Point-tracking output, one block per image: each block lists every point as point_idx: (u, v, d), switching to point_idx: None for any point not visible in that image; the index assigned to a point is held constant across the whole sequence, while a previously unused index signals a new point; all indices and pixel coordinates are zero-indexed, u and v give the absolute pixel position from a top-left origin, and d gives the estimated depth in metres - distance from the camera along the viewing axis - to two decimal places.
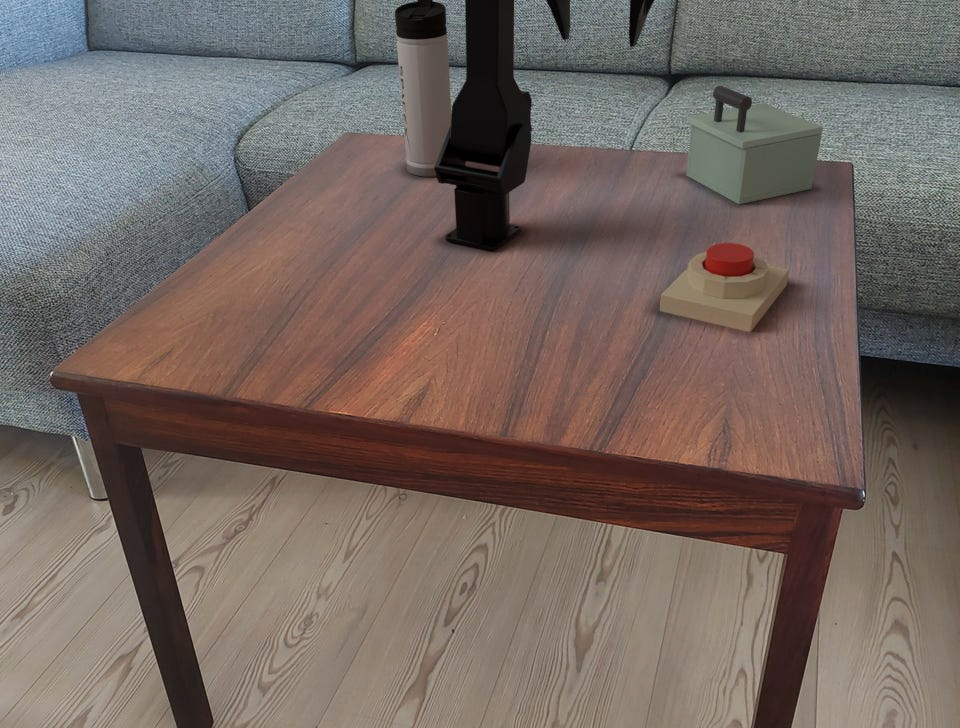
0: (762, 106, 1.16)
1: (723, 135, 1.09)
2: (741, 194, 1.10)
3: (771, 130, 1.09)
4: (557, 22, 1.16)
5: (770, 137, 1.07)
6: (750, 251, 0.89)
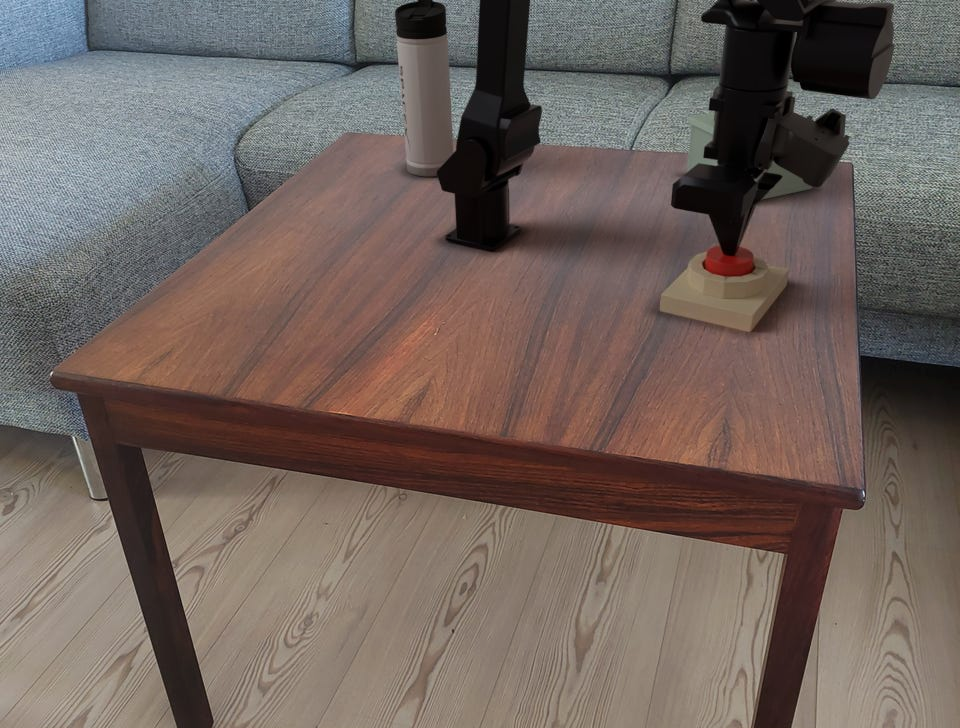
0: None
1: None
2: None
3: None
4: None
5: None
6: (750, 253, 0.89)
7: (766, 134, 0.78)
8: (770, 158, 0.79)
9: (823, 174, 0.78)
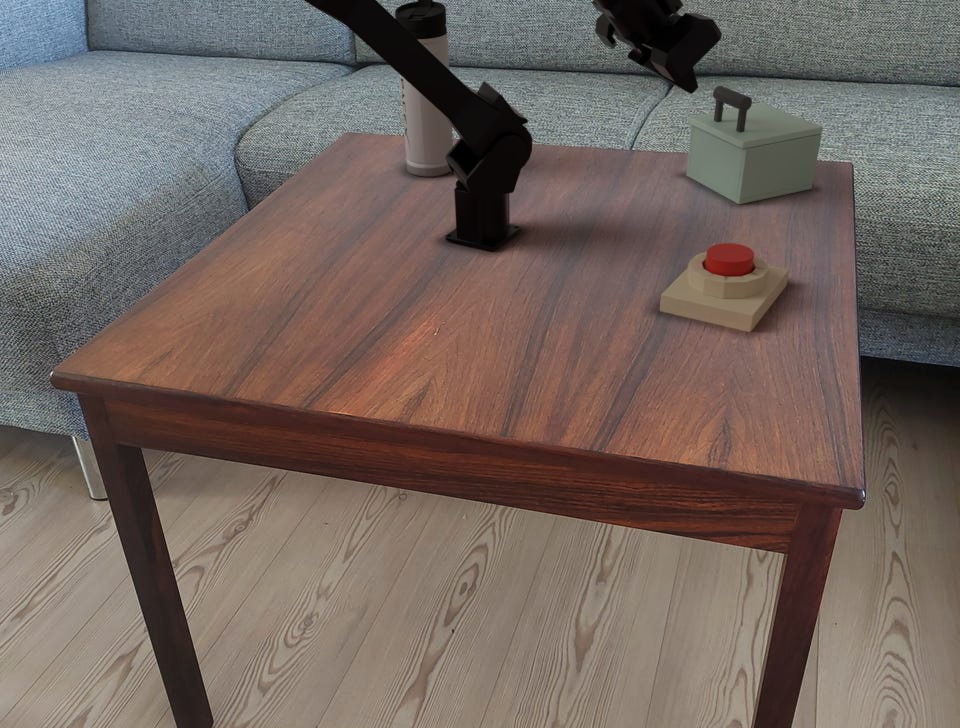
0: (762, 106, 1.16)
1: (723, 135, 1.09)
2: (741, 194, 1.10)
3: (771, 130, 1.09)
4: None
5: (770, 137, 1.07)
6: (750, 251, 0.89)
7: None
8: None
9: None
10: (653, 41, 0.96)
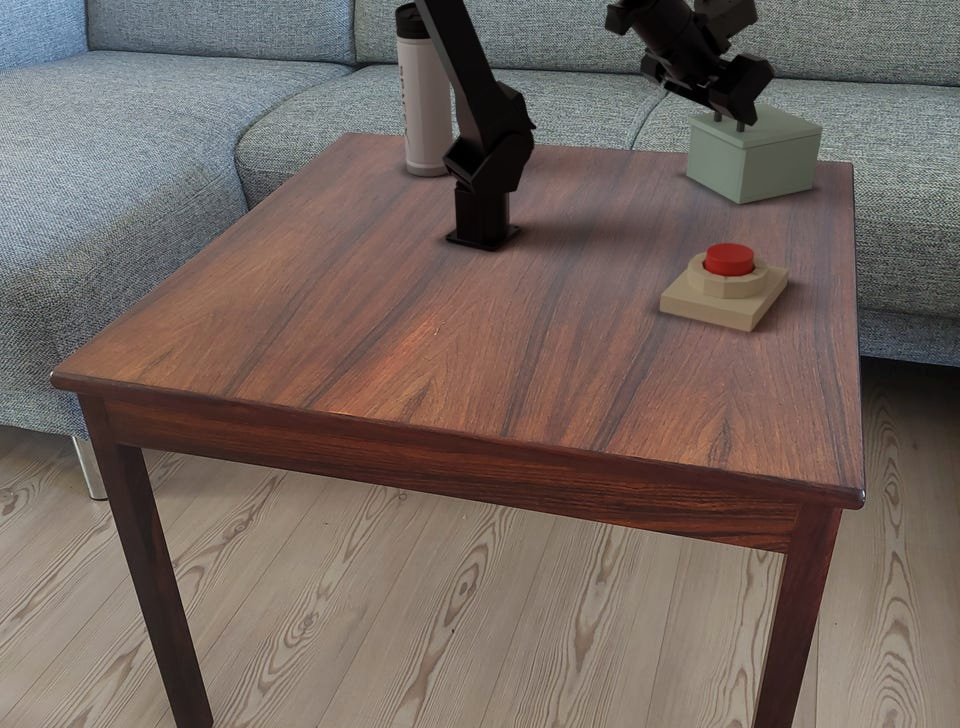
0: (762, 106, 1.16)
1: (723, 135, 1.09)
2: (741, 194, 1.10)
3: (771, 130, 1.09)
4: None
5: (770, 137, 1.07)
6: (750, 251, 0.89)
7: (713, 32, 1.00)
8: None
9: (755, 8, 1.01)
10: None
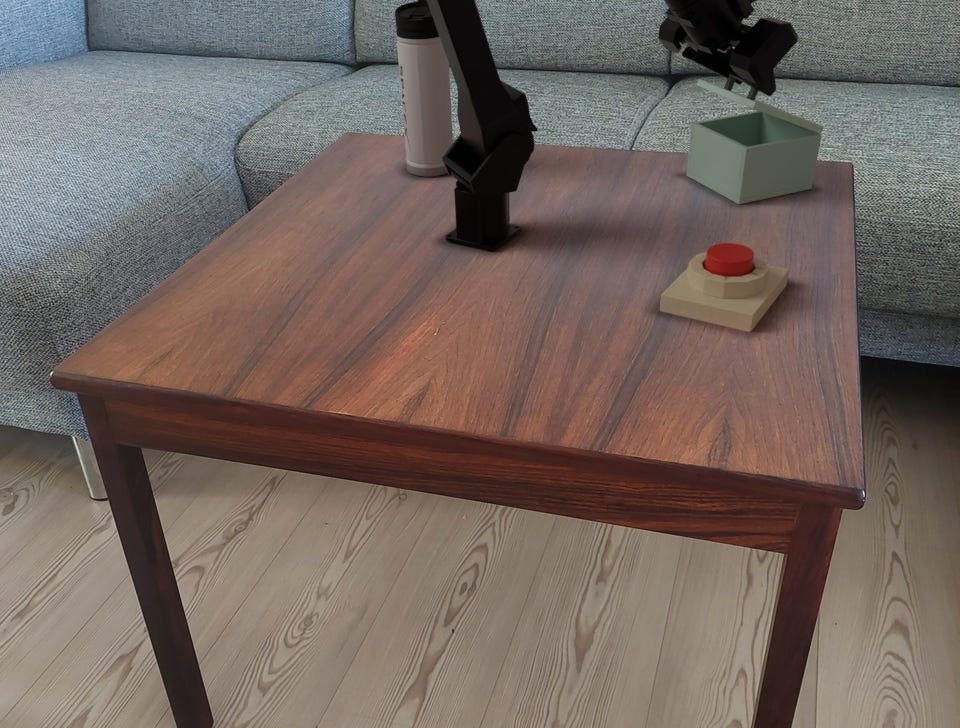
0: (764, 103, 1.16)
1: (735, 96, 1.06)
2: (741, 194, 1.10)
3: None
4: (723, 76, 1.10)
5: (779, 111, 1.05)
6: (750, 251, 0.89)
7: None
8: None
9: None
10: None
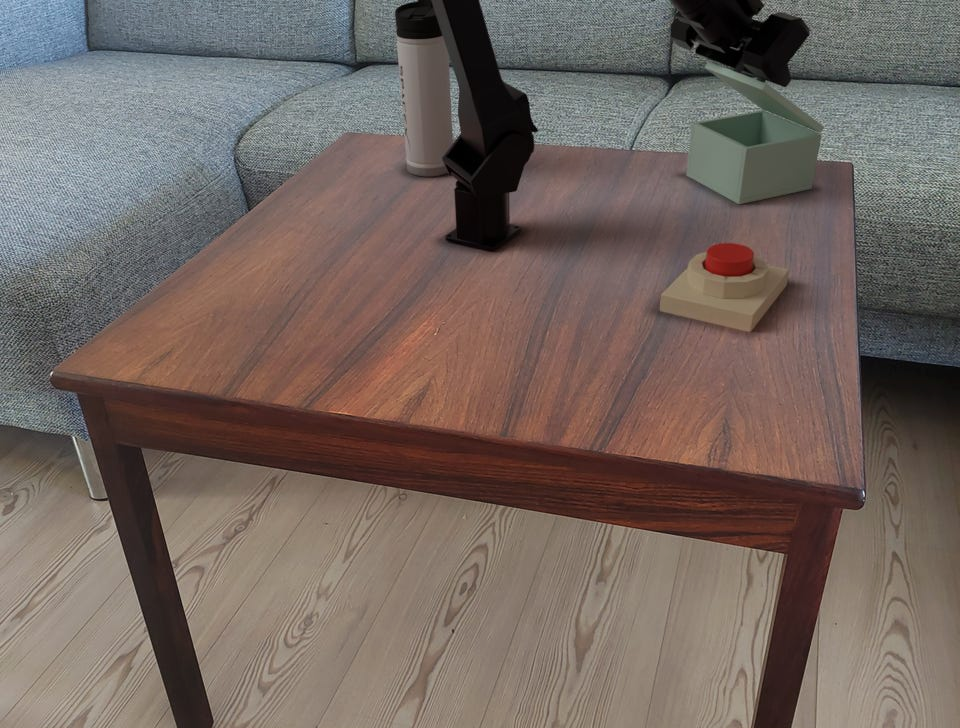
0: None
1: (744, 77, 1.05)
2: (741, 194, 1.10)
3: None
4: None
5: (786, 99, 1.05)
6: (750, 251, 0.89)
7: None
8: None
9: None
10: None
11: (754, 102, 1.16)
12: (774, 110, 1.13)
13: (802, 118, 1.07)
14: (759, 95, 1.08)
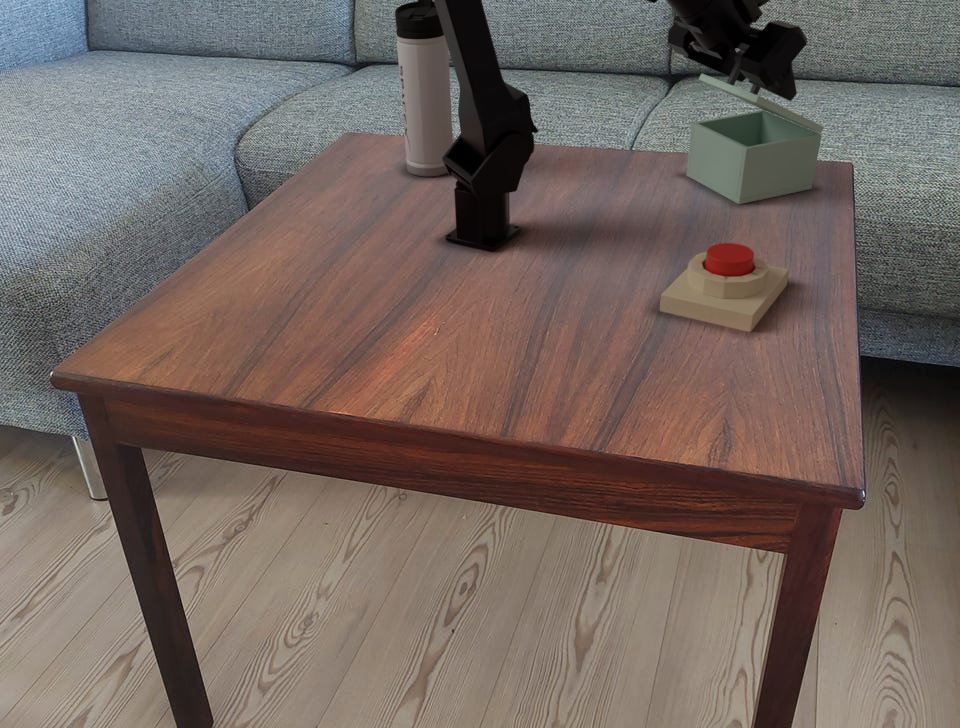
0: None
1: (738, 90, 1.06)
2: (741, 194, 1.10)
3: None
4: None
5: (781, 107, 1.05)
6: (750, 251, 0.89)
7: None
8: None
9: None
10: None
11: None
12: None
13: (800, 122, 1.07)
14: None
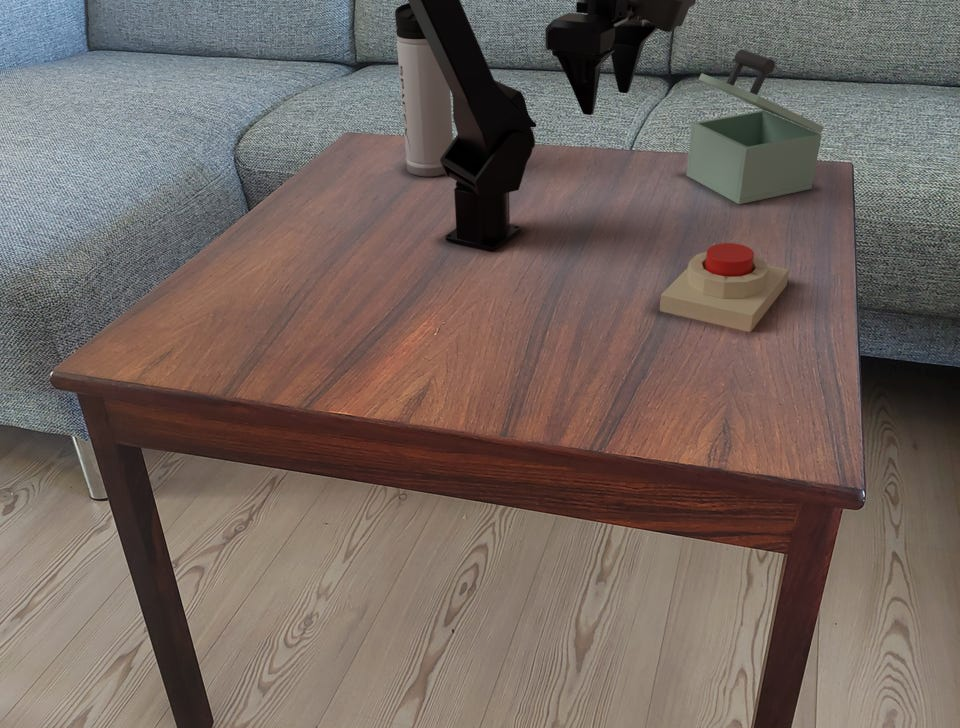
0: None
1: (738, 90, 1.06)
2: (741, 194, 1.10)
3: None
4: None
5: (781, 107, 1.05)
6: (750, 251, 0.89)
7: None
8: (628, 7, 0.95)
9: (670, 19, 0.94)
10: None
11: None
12: None
13: (800, 122, 1.07)
14: None
